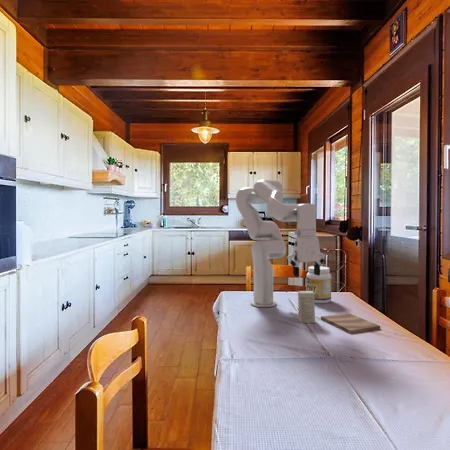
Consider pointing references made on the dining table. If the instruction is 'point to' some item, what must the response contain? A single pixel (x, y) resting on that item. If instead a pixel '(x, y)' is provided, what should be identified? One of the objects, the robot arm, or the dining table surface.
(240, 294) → the dining table surface
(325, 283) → the supplement tub
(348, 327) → the walnut board
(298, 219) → the robot arm
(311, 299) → the skincare box
